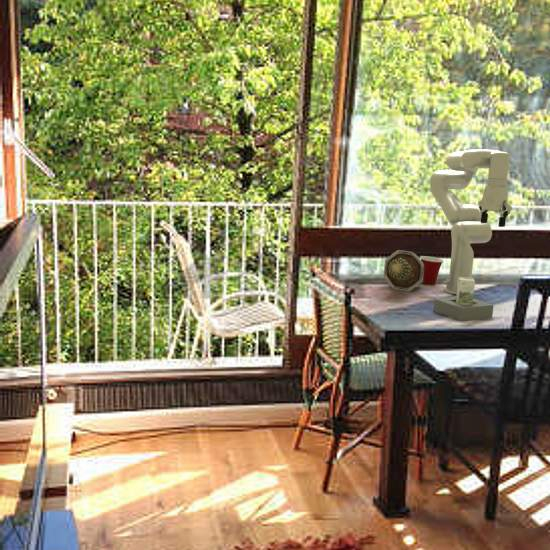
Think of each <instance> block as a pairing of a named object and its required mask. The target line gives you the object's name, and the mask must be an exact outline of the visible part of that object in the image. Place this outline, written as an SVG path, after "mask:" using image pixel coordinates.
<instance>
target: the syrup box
mask: <svg viewBox="0 0 550 550" xmlns="http://www.w3.org/2000/svg"><path fill="white" fill-rule="evenodd" d="M475 285H476V281H475V279H474V278H473V277H472V278H468V277H458V284H457V294H456V295H455V296H456V303H459V304H462V305H469V304H473V299H474V293H475V287H476V286H475Z"/></svg>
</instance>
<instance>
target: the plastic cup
mask: <svg viewBox="0 0 550 550" xmlns="http://www.w3.org/2000/svg"><path fill="white" fill-rule="evenodd" d="M419 259H420V260H421V261H422V262H423V264H424V274H423V281H422V283H423V284H425V285H433V286H434V285H436V283H437V279H438V276H439V273H440V269H441V266H442V264H443V262H444V259H442V258H439V257H435V256H426V255H425V256H424V255H420V257H419Z"/></svg>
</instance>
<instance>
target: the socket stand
mask: <svg viewBox="0 0 550 550" xmlns="http://www.w3.org/2000/svg"><path fill="white" fill-rule="evenodd" d="M433 300H434V301H433V309H432V311H433V312H434V311H435V313H438V314H440V315H443V316H446V317H449V318H452V319H454V320H457V321H460V322H468V321H474V320H483V319H488V318H490V319H491V318H493V316H494V315H493V314H494V304H491V303H489V302H486V301H483V300H480V299H477V298H473V304H469V305H462V304H459V303H456V295H455V296H450V297H449V296H448V297H438V298H434V299H433Z"/></svg>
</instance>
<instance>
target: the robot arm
mask: <svg viewBox="0 0 550 550" xmlns="http://www.w3.org/2000/svg"><path fill="white" fill-rule="evenodd" d="M510 158H511V156H510V153H509V152H507V151H500V150H495V149H469V150H463V151H462V150H461V151H455V152H451V153H450V154H449V155H448V156H447V158H446V161H445V162H446V163H445V164H446V166H447V168H448V169H441V170H436V171H434V172H432V174H431V175H430V178H429V188H430V192H431V194H432V196H433V198H434V199H435V200H436V202H437V203H438V204H439V206H440V208H441V210H442V212H443V214H444V215H445V218H446V220H447V221H448V223H449V224H450V225H451V231H450V233H451V255H450V266H449V275H448V276H449V277H448V278H447V279H446V280H444V281H443V285H446V287H444V292H445V293H447V294H450V295H454V294H457V284H458V277H468V278H473V277H472V276H473V269H474V268H473V266H474V255H475V253H474V250H473V248H472V246H471V244H486V243H488V242H490V240H491V239H492V236H493V231H492V229H493V228H492V227H491V224H490V223H489V220H488V218H489V213H488V212H495V213H497V212H498V214H499V217H498V225H497V226H498V227H499V228H501V227H502V228H505V227H506V222H507V221H506V220H507V217H508V216H509V215H510V214H511V211H512V209H513V207H512V206H511V205H510V203H508V200H509V199H508V198H509V192H508V177H509V176H508V174H509V169H510V168H509V167H510ZM479 169H488V173H487V179H486V182H487V183H486V185H485V186H484V189H483V193H482V199H481V200H479V201H478V202H477V205H476V204H472V203H471V204H467V203H462V202H461V201H460V199H459V197H458V196H457V194H456V193H454V192H453V191H451V190H464V189H467V187H469V185H470V184H471V182H472V180H473V178H474V177H475V175H476V173H477V172H478V170H479Z"/></svg>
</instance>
